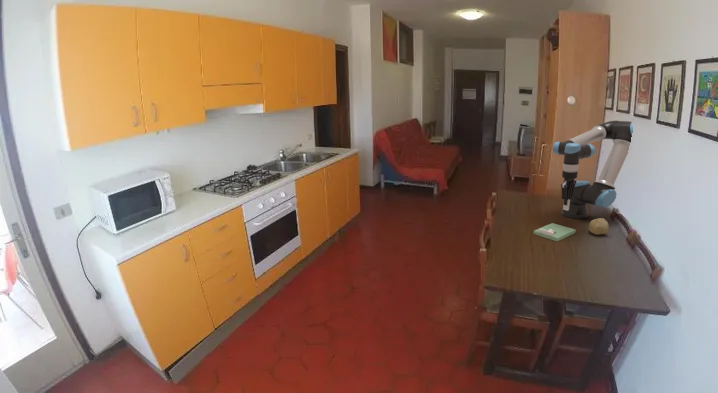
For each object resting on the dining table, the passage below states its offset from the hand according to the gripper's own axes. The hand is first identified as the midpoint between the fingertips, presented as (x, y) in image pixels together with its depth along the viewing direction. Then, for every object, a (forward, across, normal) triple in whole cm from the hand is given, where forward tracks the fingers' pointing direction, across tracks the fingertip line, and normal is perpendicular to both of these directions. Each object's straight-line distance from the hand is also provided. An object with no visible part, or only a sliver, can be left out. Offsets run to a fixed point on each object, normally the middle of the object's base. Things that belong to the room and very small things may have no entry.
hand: (565, 209), depth 213 cm
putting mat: (+12, +10, 0) cm, 16 cm away
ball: (+10, +14, 0) cm, 18 cm away
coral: (+13, -8, +15) cm, 21 cm away
